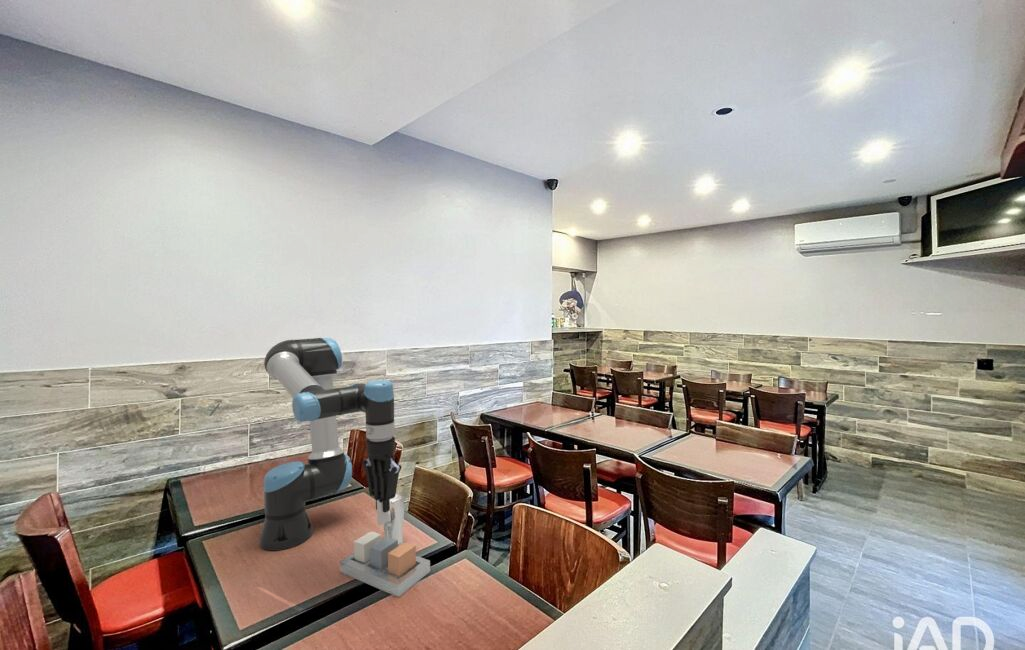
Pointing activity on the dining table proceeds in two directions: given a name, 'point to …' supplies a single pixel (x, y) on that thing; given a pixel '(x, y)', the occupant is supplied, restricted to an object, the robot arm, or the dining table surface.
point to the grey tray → (385, 574)
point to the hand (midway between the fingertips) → (383, 522)
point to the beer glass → (395, 519)
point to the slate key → (382, 552)
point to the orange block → (401, 558)
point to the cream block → (365, 546)
